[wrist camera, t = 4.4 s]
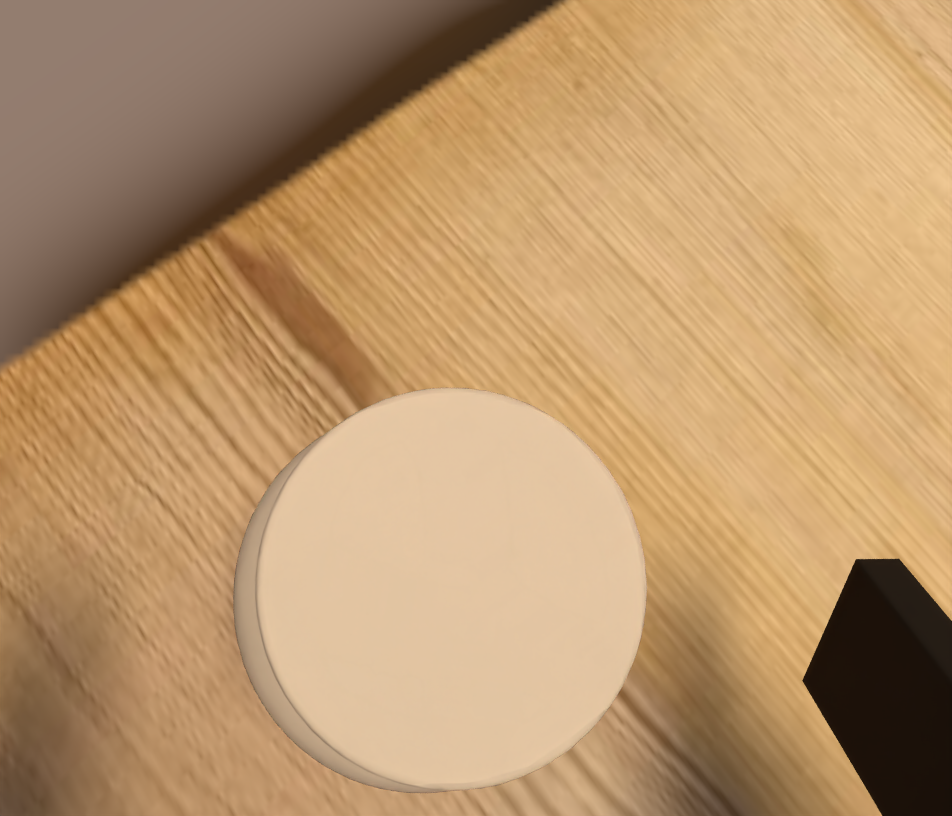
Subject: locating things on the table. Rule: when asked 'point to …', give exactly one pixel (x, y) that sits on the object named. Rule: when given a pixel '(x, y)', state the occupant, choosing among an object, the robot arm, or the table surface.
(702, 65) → the table surface
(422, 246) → the table surface
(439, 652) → the pill bottle
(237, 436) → the table surface
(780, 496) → the table surface
